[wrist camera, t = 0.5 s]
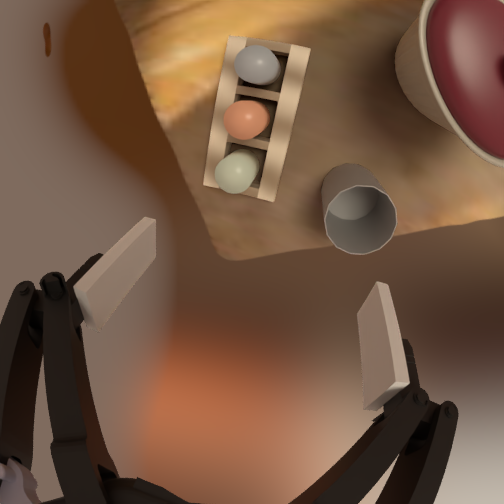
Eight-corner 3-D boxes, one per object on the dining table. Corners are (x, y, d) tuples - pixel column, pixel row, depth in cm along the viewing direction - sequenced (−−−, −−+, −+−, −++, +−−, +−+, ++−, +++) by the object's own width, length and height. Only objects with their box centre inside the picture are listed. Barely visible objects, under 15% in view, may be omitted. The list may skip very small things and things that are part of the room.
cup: (380, 166, 33) (402, 188, 25) (375, 219, 38) (391, 255, 29) (321, 162, 35) (325, 183, 27) (320, 217, 39) (321, 252, 31)
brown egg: (238, 97, 30) (227, 97, 26) (273, 104, 30) (267, 104, 25) (232, 130, 32) (220, 135, 28) (266, 137, 32) (259, 143, 28)
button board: (235, 39, 28) (229, 35, 25) (310, 52, 27) (310, 48, 25) (210, 178, 39) (203, 184, 37) (276, 194, 39) (273, 202, 36)
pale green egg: (229, 145, 33) (217, 153, 29) (262, 153, 33) (255, 161, 29) (224, 177, 36) (212, 188, 32) (256, 184, 36) (248, 197, 31)
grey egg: (248, 50, 26) (238, 42, 22) (284, 56, 26) (280, 48, 22) (241, 82, 29) (230, 79, 25) (277, 88, 28) (271, 86, 24)
